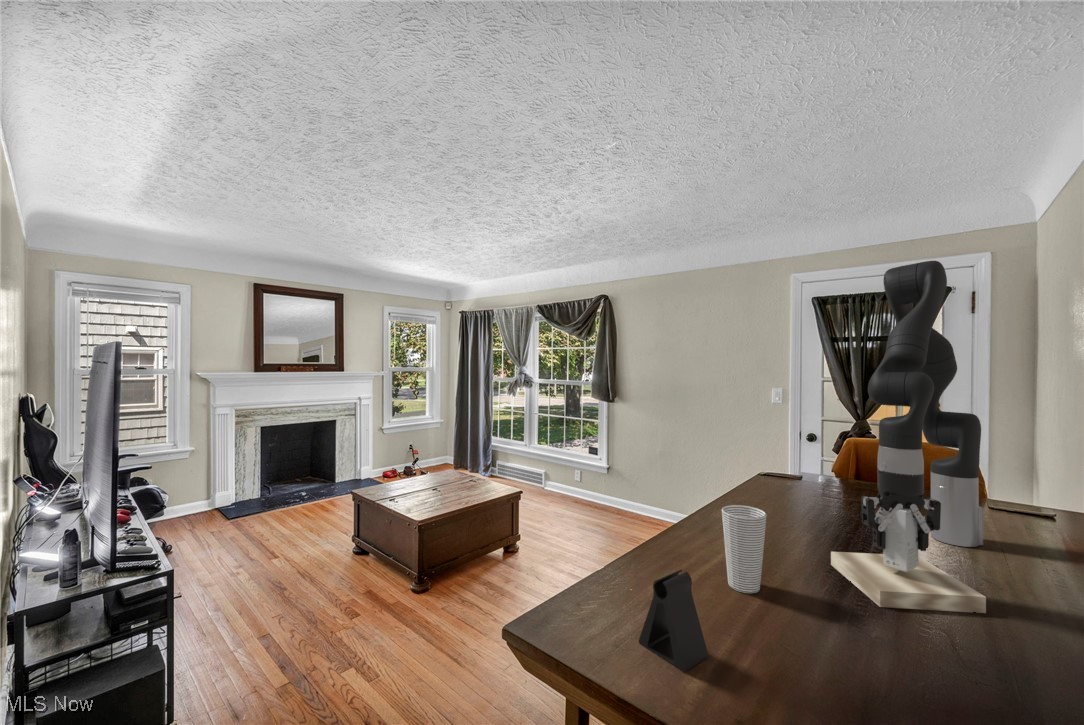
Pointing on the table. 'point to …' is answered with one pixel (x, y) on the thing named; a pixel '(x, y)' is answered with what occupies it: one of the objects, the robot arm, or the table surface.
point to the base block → (907, 584)
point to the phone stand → (674, 623)
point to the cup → (744, 546)
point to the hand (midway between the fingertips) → (900, 548)
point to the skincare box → (901, 541)
